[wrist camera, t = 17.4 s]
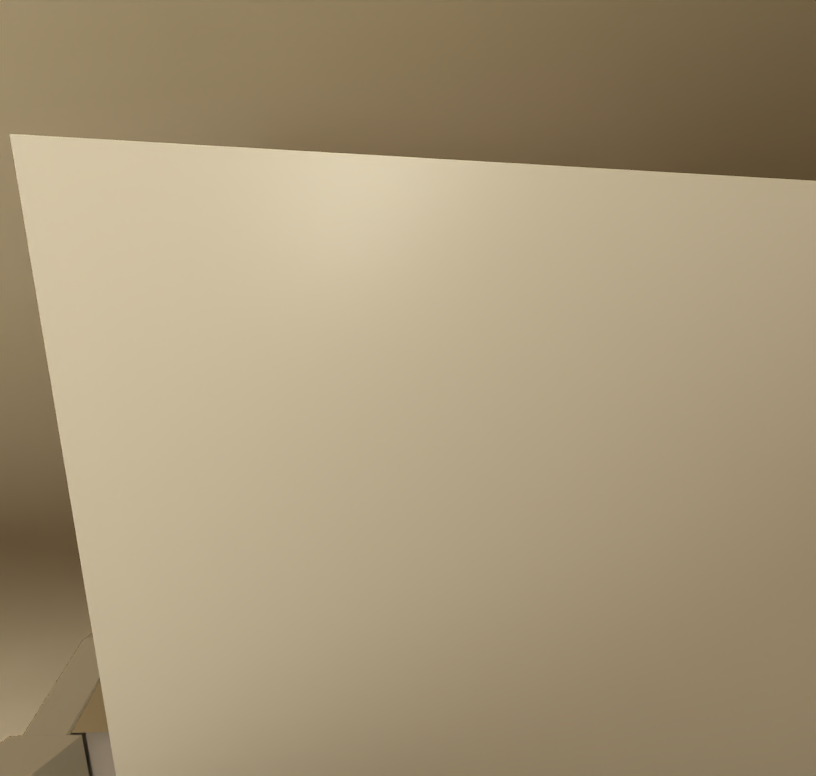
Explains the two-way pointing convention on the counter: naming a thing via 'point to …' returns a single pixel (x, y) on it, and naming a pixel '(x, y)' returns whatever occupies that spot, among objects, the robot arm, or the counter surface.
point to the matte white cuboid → (434, 459)
